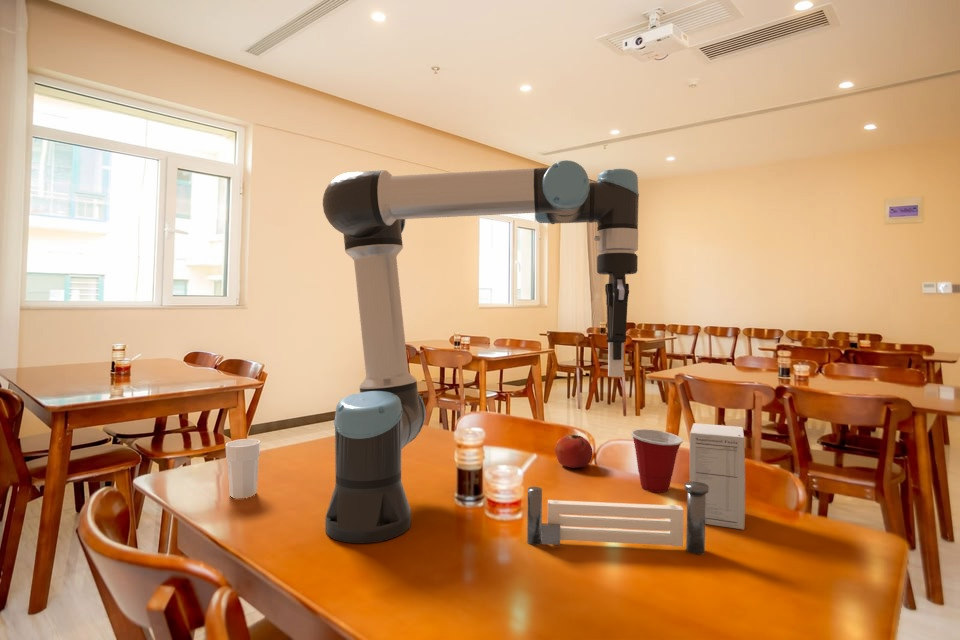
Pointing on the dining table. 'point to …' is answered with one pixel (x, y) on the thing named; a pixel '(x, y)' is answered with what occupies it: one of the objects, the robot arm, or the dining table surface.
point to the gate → (618, 522)
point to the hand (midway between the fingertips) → (615, 376)
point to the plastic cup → (655, 458)
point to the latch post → (539, 521)
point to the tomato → (573, 451)
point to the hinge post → (696, 517)
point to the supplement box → (720, 472)
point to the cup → (242, 467)
